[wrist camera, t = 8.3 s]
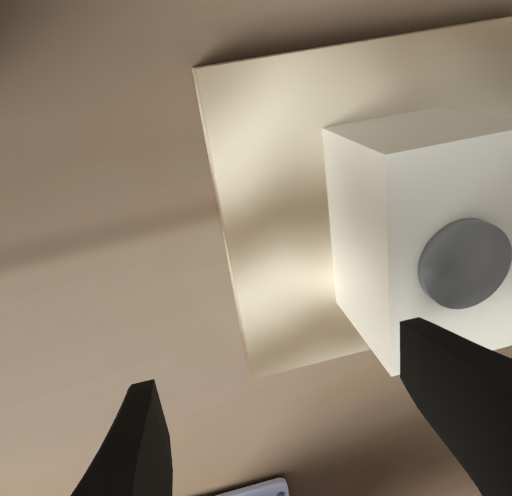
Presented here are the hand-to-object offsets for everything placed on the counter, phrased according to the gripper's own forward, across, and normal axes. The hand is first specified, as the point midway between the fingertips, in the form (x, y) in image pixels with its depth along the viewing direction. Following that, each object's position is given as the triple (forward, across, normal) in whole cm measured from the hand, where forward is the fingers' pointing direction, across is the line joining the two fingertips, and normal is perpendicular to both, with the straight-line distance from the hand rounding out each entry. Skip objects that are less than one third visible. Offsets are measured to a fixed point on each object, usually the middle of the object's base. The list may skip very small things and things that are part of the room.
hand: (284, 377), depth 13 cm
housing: (+7, -7, -1) cm, 10 cm away
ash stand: (+9, -7, -1) cm, 11 cm away
